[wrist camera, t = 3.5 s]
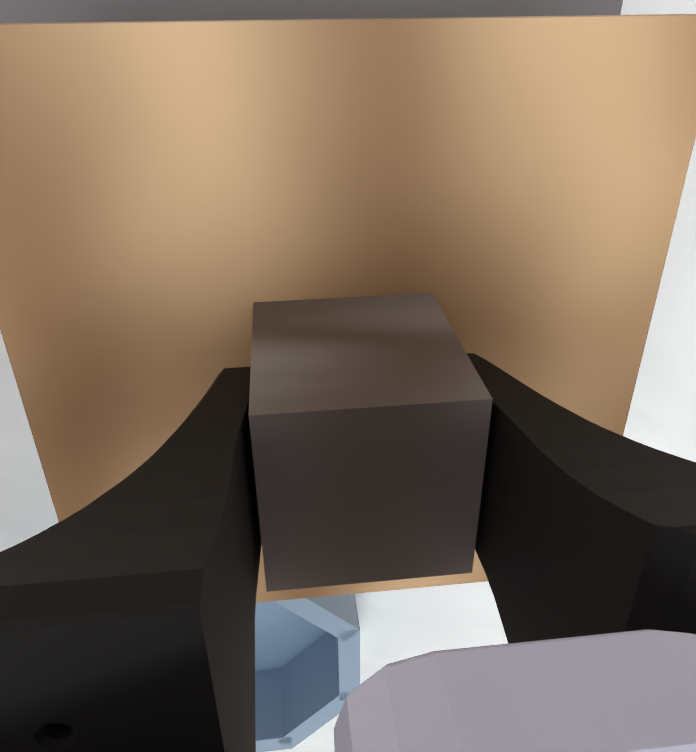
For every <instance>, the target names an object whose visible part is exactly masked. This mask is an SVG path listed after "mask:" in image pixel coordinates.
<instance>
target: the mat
mask: <svg viewBox="0 0 696 752" xmlns="http://www.w3.org/2000/svg"><path fill="white" fill-rule="evenodd" d="M622 1H623V0H0V23H73V22H147V21H221V20H296V19H370V18H444V17H518V16H593V15H620V13H621V7H622Z"/></svg>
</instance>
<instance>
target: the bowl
mask: <svg viewBox="0 0 696 752" xmlns="http://www.w3.org/2000/svg"><path fill="white" fill-rule="evenodd" d="M359 685H360V627H359V620H358V613H357V607H356V600H355V594H344V595H334V596H323V597H312V598H301V599H291V600H280V601H269V602H259V603H256V608H255V727H256V752H265V751H274V750H283V749H292V748H293V747H295V746H296V745H297V744H299V743H300V742H301V741H303V740H304V739H306V738H307V737H308V736H310V735H311V734H312V733H314V732H315V731H316V730H318V729H319V728H320V727H322V726H323V725H324V724H326V723H327V722H329V721H330V720H331V719H333V718H334V717H335V716H337V715H338V714H339V713H340V712H341V709H342V707H343V704H344V701H345V699H346V696H347V695H348V694H350V693H351V692H352V691H353V690H354V689H355V688H357V687H358V686H359Z"/></svg>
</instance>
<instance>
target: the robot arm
mask: <svg viewBox="0 0 696 752" xmlns="http://www.w3.org/2000/svg"><path fill="white" fill-rule="evenodd" d="M467 355H468V357H469V359H470V360H471V362H472V364H473V366H474V367H475V369H476V371H477V373H478V374H479V376H480V378H481V380H482V381H483V383H484V385H485V387H486V388H487V390H488V392H489V393H490V395H491V397H492V399H493V401H492V409H491V418H490V426H489V434H488V443H487V451H486V460H485V468H484V477H483V485H482V494H481V502H480V510H479V519H478V527H477V536H476V544H475V551H476V553H477V555H478V557H479V560H480V562H481V564H482V567H483V569H484V571H485V574H486V576H487V579H488V581H489V584H490V587H491V589H492V592H493V595H494V598H495V601H496V604H497V607H498V611H499V614H500V617H501V621H502V624H503V627H504V631H505V634H506V637H507V640H508V644H501V645H491V646H481V647H471V648H462V649H452V650H442V651H433V652H430V653H426V654H422V655H419V656H415V657H412V658H408V659H405V660H401V661H397V662H394V663H390V664H387V665H386V666H385V667H383V668H382V669H381V670H379V671H378V672H377V673H375V674H374V675H373V676H371V677H370V678H369V679H367V680H366V681H365V682H363V683H362V684H361V685H359V686H358V687H357V688H355V689H354V690H353V691H352V692H351V693H350V694H348V695H347V696H346V699H345V701H344V704H343V707H342V709H341V712H340V714H339V717H338V719H337V722H336V725H335V727H334V746H335V752H696V462H692V461H689V460H686V459H683V458H680V457H677V456H674V455H671V454H668V453H665V452H663V451H660V450H657V449H654V448H651V447H648V446H646V445H643V444H641V443H638V442H635V441H633V440H631V439H628V438H626V437H624V436H621V435H619V434H617V433H614V432H612V431H610V430H608V429H605V428H603V427H601V426H599V425H597V424H595V423H592V422H590V421H588V420H586V419H584V418H583V417H581V416H579V415H577V414H575V413H573V412H571V411H569V410H568V409H566V408H564V407H562V406H560V405H558V404H557V403H555V402H553V401H551V400H550V399H548V398H546V397H545V396H543V395H541V394H540V393H538V392H536V391H535V390H533V389H531V388H530V387H528V386H526V385H525V384H523V383H522V382H520V381H519V380H517V379H515V378H514V377H512V376H511V375H509V374H508V373H506V372H504V371H503V370H501V369H500V368H498V367H497V366H495V365H493V364H492V363H490V362H489V361H487V360H485V359H484V358H482V357H480V356H478V355H476V354H474V353H467ZM250 369H251V367H236V368H224V369H223V370H222V371H221V372H220V373H219V375H218V376H217V378H216V379H215V381H214V382H213V384H212V385H211V386H210V388H209V389H208V391H207V392H206V393H205V395H204V396H203V398H202V399H201V400H200V402H199V403H198V404H197V405H196V407H195V408H194V409H193V410H192V412H191V413H190V414H189V415H188V417H187V418H186V419H185V420H184V422H183V423H182V424H181V425H180V426H179V428H178V429H177V430H176V431H175V432H174V433H173V434H172V435H171V436H170V437H169V438H168V439H167V440H166V442H165V443H164V444H163V445H162V446H161V447H160V448H159V449H158V450H157V451H156V452H155V453H154V454H153V455H152V456H151V457H150V458H149V459H148V460H147V461H145V462H144V463H143V464H142V465H141V466H139V467H138V468H137V469H136V470H135V471H134V472H132V473H131V474H130V475H129V476H127V477H126V478H125V479H124V480H122V481H121V482H120V483H118V484H117V485H115V486H114V487H112V488H111V489H110V490H108V491H107V492H105V493H104V494H103V495H101V496H100V497H98V498H97V499H95V500H94V501H93V502H91V503H90V504H88V505H87V506H85V507H84V508H82V509H81V510H79V511H77V512H76V513H74V514H72V515H71V516H69V517H67V518H66V519H64V520H62V521H61V522H59V523H57V524H55V525H53V526H52V527H50V528H48V529H46V530H44V531H43V532H41V533H39V534H37V535H35V536H33V537H31V538H29V539H27V540H25V541H24V542H22V543H19V544H17V545H15V546H13V547H11V548H9V549H6V550H4V551H2V552H0V752H256V727H255V608H256V593H257V583H258V574H259V564H260V554H261V544H262V542H261V532H260V522H259V513H258V503H257V493H256V483H255V474H254V464H253V454H252V444H251V434H250V425H249V393H250Z"/></svg>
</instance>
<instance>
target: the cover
mask: <svg viewBox="0 0 696 752" xmlns="http://www.w3.org/2000/svg"><path fill="white" fill-rule="evenodd" d="M695 137H696V14H667V15H593V16H518V17H444V18H370V19H296V20H221V21H147V22H73V23H0V330H1V333H2V336H3V340H4V343H5V346H6V349H7V353H8V356H9V359H10V363H11V366H12V369H13V372H14V376H15V379H16V382H17V385H18V389H19V392H20V395H21V399H22V402H23V405H24V408H25V412H26V415H27V418H28V422H29V425H30V428H31V431H32V435H33V438H34V441H35V445H36V448H37V451H38V454H39V458H40V461H41V464H42V468H43V471H44V474H45V477H46V481H47V484H48V487H49V491H50V494H51V497H52V500H53V504H54V507H55V510H56V514H57V517H58V520H59V522H61V521H62V520H64V519H66V518H67V517H69V516H71V515H72V514H74V513H76V512H77V511H79V510H81V509H82V508H84V507H85V506H87V505H88V504H90V503H91V502H93V501H94V500H95V499H97V498H98V497H100V496H101V495H103V494H104V493H105V492H107V491H108V490H110V489H111V488H112V487H114V486H115V485H117V484H118V483H120V482H121V481H122V480H124V479H125V478H126V477H127V476H129V475H130V474H131V473H132V472H134V471H135V470H136V469H137V468H138V467H139V466H141V465H142V464H143V463H144V462H145V461H147V460H148V459H149V458H150V457H151V456H152V455H153V454H154V453H155V452H156V451H157V450H158V449H159V448H160V447H161V446H162V445H163V444H164V443H165V442H166V440H167V439H168V438H169V437H170V436H171V435H172V434H173V433H174V432H175V431H176V430H177V429H178V428H179V426H180V425H181V424H182V423H183V422H184V420H185V419H186V418H187V417H188V415H189V414H190V413H191V412H192V410H193V409H194V408H195V407H196V405H197V404H198V403H199V402H200V400H201V399H202V398H203V396H204V395H205V393H206V392H207V391H208V389H209V388H210V386H211V385H212V384H213V382H214V381H215V379H216V378H217V376H218V375H219V373H220V372H221V371H222V370H223V369H224V368H236V367H251V369H250V393H249V425H250V434H251V444H252V454H253V464H254V474H255V483H256V493H257V503H258V513H259V522H260V532H261V542H262V544H261V554H260V564H259V574H258V583H257V593H256V603H259V602H269V601H280V600H291V599H301V598H312V597H323V596H334V595H344V594H355V593H366V592H376V591H387V590H398V589H408V588H419V587H430V586H441V585H451V584H462V583H473V582H483V581H488V579H487V576H486V574H485V571H484V569H483V567H482V564H481V562H480V560H479V557H478V555H477V553H476V551H475V544H476V536H477V527H478V519H479V510H480V502H481V494H482V485H483V477H484V468H485V460H486V451H487V443H488V434H489V426H490V418H491V409H492V401H493V399H492V397H491V395H490V393H489V392H488V390H487V388H486V387H485V385H484V383H483V381H482V380H481V378H480V376H479V374H478V373H477V371H476V369H475V367H474V366H473V364H472V362H471V360H470V359H469V357H468V355H467V353H474V354H476V355H478V356H480V357H482V358H484V359H485V360H487V361H489V362H490V363H492V364H493V365H495V366H497V367H498V368H500V369H501V370H503V371H504V372H506V373H508V374H509V375H511V376H512V377H514V378H515V379H517V380H519V381H520V382H522V383H523V384H525V385H526V386H528V387H530V388H531V389H533V390H535V391H536V392H538V393H540V394H541V395H543V396H545V397H546V398H548V399H550V400H551V401H553V402H555V403H557V404H558V405H560V406H562V407H564V408H566V409H568V410H569V411H571V412H573V413H575V414H577V415H579V416H581V417H583V418H584V419H586V420H588V421H590V422H592V423H595V424H597V425H599V426H601V427H603V428H605V429H608V430H610V431H612V432H614V433H617V434H619V435H621V436H623V433H624V429H625V425H626V421H627V416H628V412H629V408H630V404H631V400H632V396H633V392H634V388H635V384H636V379H637V375H638V371H639V367H640V363H641V359H642V355H643V351H644V347H645V342H646V338H647V334H648V330H649V326H650V322H651V318H652V314H653V309H654V305H655V301H656V297H657V293H658V289H659V285H660V281H661V277H662V272H663V268H664V264H665V260H666V256H667V252H668V248H669V244H670V240H671V235H672V231H673V227H674V223H675V219H676V215H677V211H678V207H679V203H680V198H681V194H682V190H683V186H684V182H685V178H686V174H687V170H688V166H689V161H690V157H691V153H692V149H693V145H694V141H695Z"/></svg>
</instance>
